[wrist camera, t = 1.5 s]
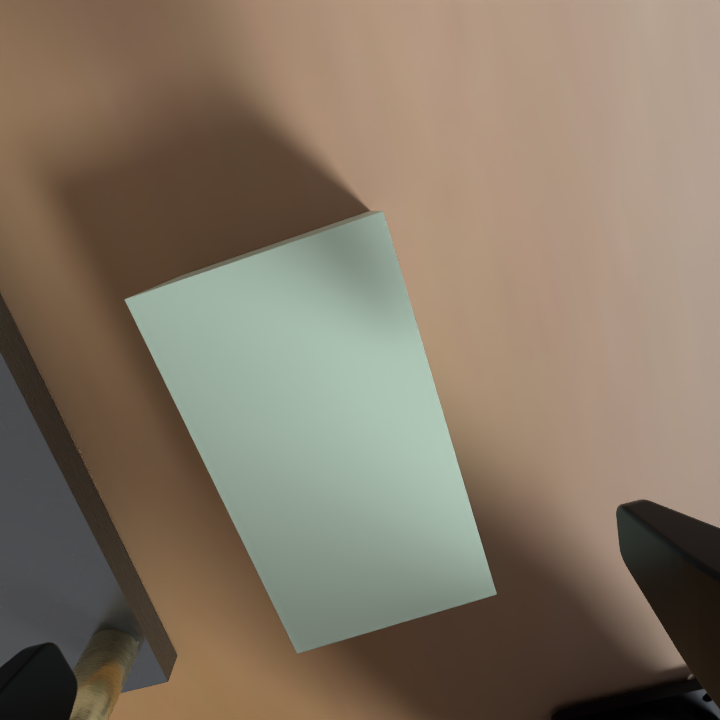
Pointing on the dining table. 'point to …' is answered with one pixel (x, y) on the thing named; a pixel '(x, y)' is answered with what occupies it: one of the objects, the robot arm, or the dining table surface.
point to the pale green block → (322, 429)
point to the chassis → (65, 551)
